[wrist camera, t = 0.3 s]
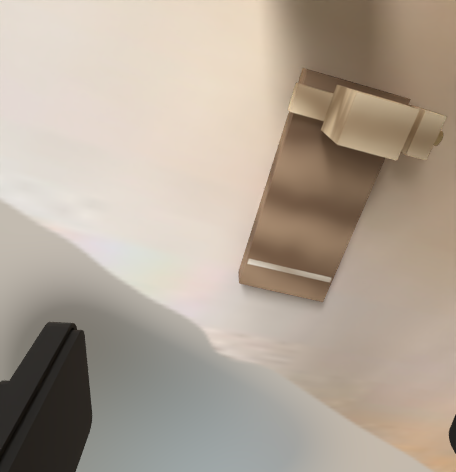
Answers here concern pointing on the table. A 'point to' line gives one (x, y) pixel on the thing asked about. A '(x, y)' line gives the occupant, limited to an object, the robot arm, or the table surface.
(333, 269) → the walnut board
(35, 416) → the robot arm
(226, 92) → the table surface
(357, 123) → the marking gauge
